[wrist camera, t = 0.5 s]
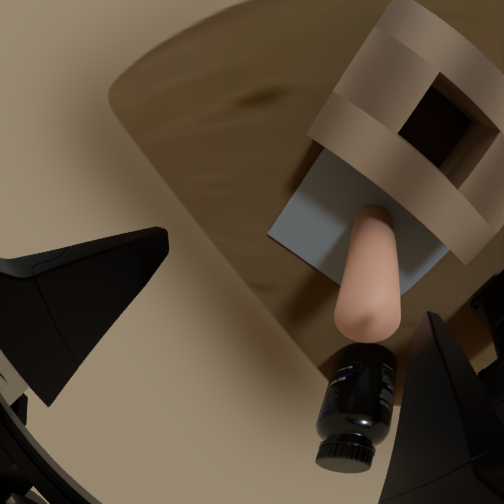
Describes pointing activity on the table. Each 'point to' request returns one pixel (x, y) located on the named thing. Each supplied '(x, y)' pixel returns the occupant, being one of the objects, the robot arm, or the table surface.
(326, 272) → the mat
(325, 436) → the supplement bottle
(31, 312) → the robot arm
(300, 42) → the table surface
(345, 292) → the dowel
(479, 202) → the socket block
